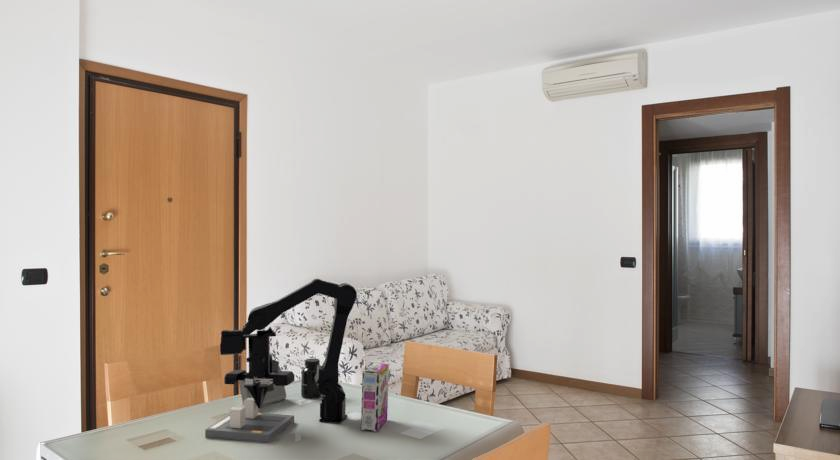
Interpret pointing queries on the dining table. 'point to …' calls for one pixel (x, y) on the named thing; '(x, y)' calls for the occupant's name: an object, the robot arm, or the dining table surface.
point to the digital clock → (271, 396)
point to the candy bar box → (374, 397)
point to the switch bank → (252, 428)
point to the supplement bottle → (310, 379)
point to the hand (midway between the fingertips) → (259, 408)
